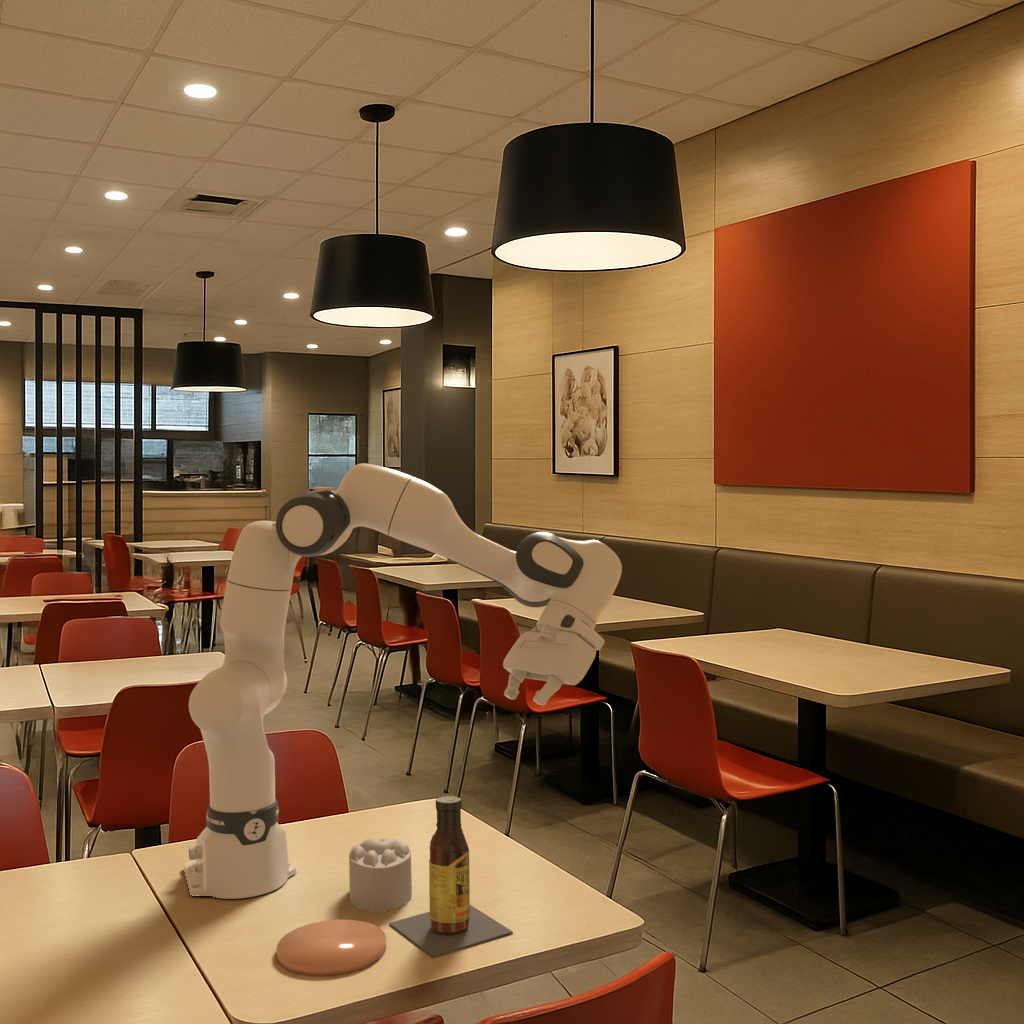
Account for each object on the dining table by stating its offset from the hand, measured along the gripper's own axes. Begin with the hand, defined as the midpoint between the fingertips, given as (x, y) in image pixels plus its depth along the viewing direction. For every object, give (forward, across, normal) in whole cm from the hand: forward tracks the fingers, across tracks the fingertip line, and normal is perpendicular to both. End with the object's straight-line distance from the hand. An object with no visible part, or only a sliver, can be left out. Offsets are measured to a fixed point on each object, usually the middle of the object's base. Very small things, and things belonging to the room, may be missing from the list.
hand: (523, 700), depth 163 cm
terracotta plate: (+46, -4, -5) cm, 47 cm away
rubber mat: (+36, -1, +10) cm, 37 cm away
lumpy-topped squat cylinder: (+37, -19, +6) cm, 42 cm away
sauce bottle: (+35, -1, +9) cm, 37 cm away
